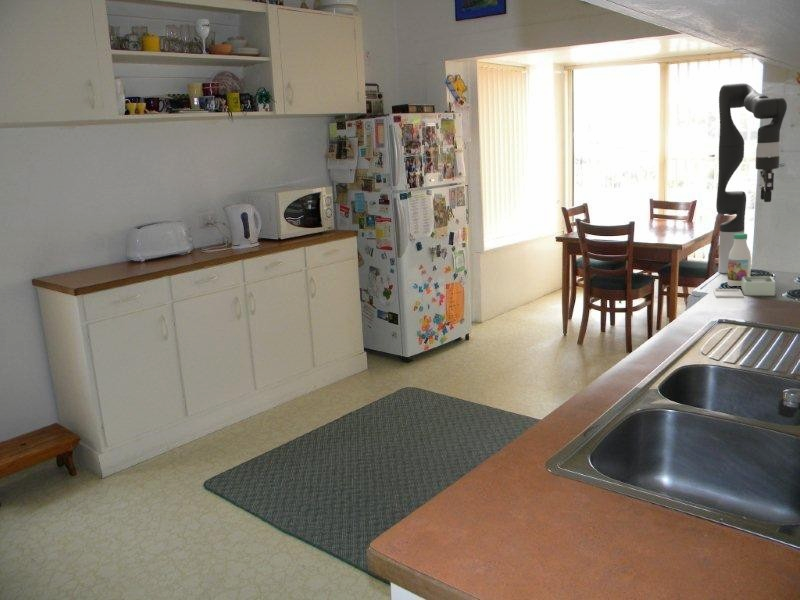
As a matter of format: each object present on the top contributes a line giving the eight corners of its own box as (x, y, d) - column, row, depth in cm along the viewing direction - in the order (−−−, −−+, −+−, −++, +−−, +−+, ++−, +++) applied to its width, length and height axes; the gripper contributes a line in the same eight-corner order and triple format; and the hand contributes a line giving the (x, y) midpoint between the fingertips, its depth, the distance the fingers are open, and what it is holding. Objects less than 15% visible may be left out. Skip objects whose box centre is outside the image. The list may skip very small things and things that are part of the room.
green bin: (741, 290, 256) (741, 276, 255) (770, 290, 253) (771, 276, 252) (744, 296, 247) (745, 282, 246) (774, 296, 244) (775, 282, 243)
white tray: (713, 292, 257) (713, 288, 257) (739, 292, 254) (740, 288, 254) (715, 298, 247) (715, 295, 247) (743, 299, 244) (743, 295, 244)
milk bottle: (733, 283, 269) (734, 232, 264) (753, 285, 263) (755, 233, 258) (723, 287, 264) (725, 234, 259) (744, 289, 258) (746, 236, 253)
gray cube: (749, 291, 253) (750, 279, 252) (763, 291, 251) (764, 279, 250) (751, 294, 249) (752, 281, 248) (765, 294, 247) (766, 281, 246)
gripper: (753, 155, 257) (751, 199, 261) (758, 157, 244) (757, 203, 248) (776, 153, 255) (774, 198, 258) (782, 155, 242) (780, 202, 245)
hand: (765, 200), depth 253 cm, fingers open, 8 cm apart
